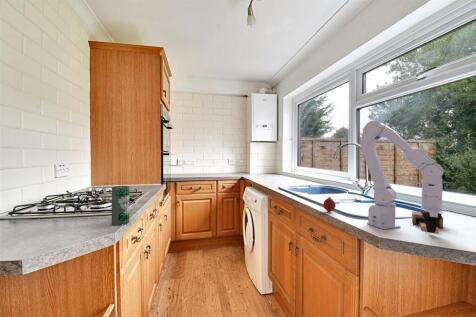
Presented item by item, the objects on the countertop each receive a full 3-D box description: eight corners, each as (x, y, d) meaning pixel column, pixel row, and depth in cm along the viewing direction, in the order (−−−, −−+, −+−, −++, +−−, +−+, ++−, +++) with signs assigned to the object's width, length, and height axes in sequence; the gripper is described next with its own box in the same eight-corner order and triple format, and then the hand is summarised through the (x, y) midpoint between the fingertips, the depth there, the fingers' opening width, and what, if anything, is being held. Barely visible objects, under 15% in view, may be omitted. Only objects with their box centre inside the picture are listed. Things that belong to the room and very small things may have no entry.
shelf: (442, 228, 88) (443, 218, 88) (412, 224, 93) (412, 214, 93) (440, 225, 93) (440, 214, 92) (412, 220, 98) (412, 211, 98)
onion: (336, 214, 109) (336, 198, 108) (324, 213, 110) (324, 197, 110) (333, 211, 114) (334, 195, 114) (322, 210, 115) (322, 195, 115)
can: (124, 225, 87) (124, 188, 87) (108, 225, 87) (109, 188, 87) (131, 220, 93) (131, 185, 93) (116, 220, 93) (116, 185, 93)
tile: (438, 234, 83) (438, 228, 83) (420, 231, 86) (421, 226, 86) (435, 229, 88) (436, 224, 88) (419, 227, 91) (419, 222, 91)
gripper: (450, 200, 73) (449, 240, 73) (443, 194, 84) (442, 229, 84) (422, 197, 77) (421, 235, 77) (419, 192, 88) (418, 225, 89)
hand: (430, 232), depth 81 cm, fingers closed
